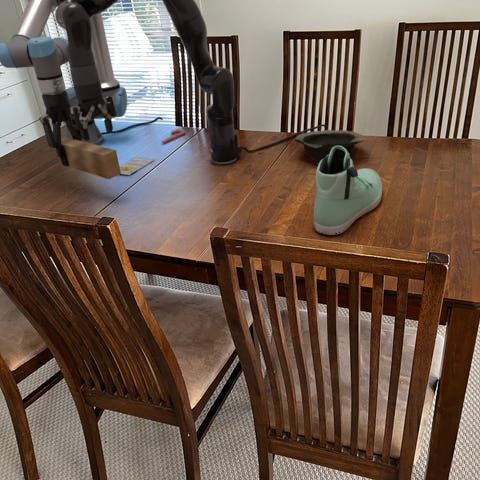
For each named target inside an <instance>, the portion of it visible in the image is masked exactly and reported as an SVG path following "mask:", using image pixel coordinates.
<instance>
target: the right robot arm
mask: <svg viewBox="0 0 480 480" xmlns="http://www.w3.org/2000/svg"><path fill="white" fill-rule="evenodd" d="M118 1H119V0H65V1H64V2H62V3H61V4H60V5H59V6H58V7H56V9H55V11H54V19H55V21H56V24H57V25H58V26H59V27H60V28H61V29H63V30H65V32H66V39H67V40H68V44H67V45H66V52H67V56H68V61H69V62H68V65H69V71H70V77H71V81H72V85H73V86H72V87H74V90H75V95H76V98H77V100H78V106H75V107H72V106H70V107H69V111H70V117H71V122H72V126H73V127H74V128H79V129H80V133H81V137H82V139H84V140H85V141H89V140H90V138H89V133H88V129H87V128H86V127H87V124H88V122H89V121H90V119H91V118H93V117H95V116H99V115H101V116H102V117H103V118H102V119H103V122H104V127H105V132H109V133H111V132H112V131H114V126H113V121H112V119H113V118H112V117H114V116H116V111H115V107H114V103H113V99H112V97H110V96H104V98H103V97H102V96H103V92H102V87H101V83H100V78H99V73H98V69H97V66H96V63H95V58H94V54H93V49H92V32H91V22H90V17H92V16H93V15H95V14H99V13H101V14H102V13H104V12H105V11H107V10H108V9H109V8H111V7H112V6H113V5H115V4H116V3H117V2H118ZM162 3H163V5H164V7H165V9H166V11H167V13H168V16H169V17H170V20H171V22H172V24H173V27H174V29H175V31H176V33H177V35H178V37H179V38H180V41H181V43H182V45H183V47H184V50H185V52H186V54H187V57H188V59H189V60H190V64H191V65H192V66H191V67H192V69H193V70H194V73H195V74H194V75H195V76H196V77H195V78H196V79H197V82H198V85H199V87H200V89H201V90H202V91H203V92H204V93H206V94H209V95H212V103H211V104H209V105H208V106H207V107H206V120H207V129H208V137H209V152H210V158H211V159H210V160H211V163H212V164H214V165H216V166H217V165H218V166H226V165H231V164H234V163H235V162H236V161H237V160H239V158H240V157H239V155H240V154H241V153H243V150H245V152H247V153H255V152H258V151H261V150H264V149H266V148H270V147H272V146H275V145H278V144H281V143H282V142H285V141H287V140H290V139H292V138H294V137H297V136H298V135H300V134H303V133H308V132H311V131H315V130H316V129H319V128H321V127H324V128H328V125H326V124H323V123H322V124H318V125H316V126H314V127H310V128H307V129H303V130H301V131H299V132H296V133H293V134H291V135H289V136H287V137H284V138H282V139H279V140H277V141H275V142H272V143H269V144H266V145H263V146H260V147H258V148H255V149H248V148H247V147H245V146H242V145H239V144H238V143H239V142H238V134H237V133H236V131H235V121H234V107H235V103H236V101H235V80H234V76H233V73H232V72H231V71H230V69H228V68H226V67H221V66H216V64H215V63H214V62H213V60H212V57H211V55H210V53H209V49H208V29H207V28H208V27H207V24H206V22H205V19H204V16H203V14H202V11H201V10H200V7H199V5H198V4H197V2H196V0H162ZM104 103H105V104H106V108H107V110H105V109H104V108H103V106H104ZM79 110H80V111H81V114H80V117H79V113H80V112H79ZM85 116H86V117H85Z"/></svg>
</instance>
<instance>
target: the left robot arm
mask: <svg viewBox="0 0 480 480" xmlns="http://www.w3.org/2000/svg"><path fill="white" fill-rule="evenodd" d="M64 1H65V0H28V2H27V3H26V6H25V8H24V10H23V13H22V14H21V17H20V19H19V21H18V23H17V26H16V27H15V29H14V32H13V34H12V36H11V38H10V39H9V42H7V41H6V42H1V43H0V64H1V66H3V67H4V68H7V69H21V68H32V67H33V69H34V72H35V75H36V80H37V84H38V87H39V92H40V93H42V94H41V98H42V103H43V106H44V107H45V114H44V115H43V116H39V117H38V120H39V122H40V123H41V125H42V128H43V132H44V135H45V139H46V142H47V146H48V147H50V148H52V149H55V152H56V156H57V158H58V157H60V158H61V162H62V166H64V167H68V166H69V163H68V159H67V156H66V152H65V148H64V147H62V146H61V139H62V129H61V128H62V123H64V124H65V126H66V133H65V138H66V137H67V138H71V139H75V140H78V141H82V142H86V143H90V144H94V145H98V146H100V145H102V143H104V136H105V135H112V134H118V133H122V132H124V131H127V130H130V129H132V128H135V127H140V126H145V125H150V124H154V123H156V122H157V121H158V120H160V121H164V118H163V117H161V116H157V117H156V118H154V119H153V120H150V121H144V122H139V123H134V124H131V125H129V126H126V127H124V128H122V129H118V130H112V132H111V133H109V132H107V131H104V132H103V131H102V132H101V130H100V129H99V127H98V125H97V124H96V121H95V120H96V119H104V118H103V117H102V116H101V115H99V116H95V117H93V118H91V119H90V121H89V122H88V124H87V127H86V128H87V129H88V133H89V138H90V140H89V141H85V140H84V139H82V137H81V133H80V129H79V128H74V127H73V126H72V122H71V117H70V111H69V107H70V106H72V107H75V106H78V100H77V98H76V95H75V90H74V86H70V87H67V88H66V84H65V78H64V75H63V71H62V67H61V66H63V65H66V64H67V63H68V64H69V61H68V56H67V52H66V45H67V44H68V39H67V38H64V37H59V36H58V37H51V36H42V35H43V32H44V30H45V28H46V26H47V23H48V20H49V18H50V15H51V14H52V13H53V12H56V9H57V7H58V6H59V5H60V4H61V3H62V2H64ZM90 22H91V32H92V49H93V54H94V58H95V63H96V66H97V69H98V73H99V78H100V83H101V87H102V92H103V96H102V97H103V98H104V96H110V97H112V99H113V103H114V107H115V111H116V116H114V117H112V119H116V118H122V117H124V116H125V115H126V112H127V109H128V94H127V89H126V88H125V87H123V86H121V84H120V81H119V80H118V79H116V78H115V74H114V73H115V72H114V70H113V64H112V60H111V59H112V58H111V55H110V49H109V45H108V40H107V34H106V30H105V25H104V21H103V16H102V13H99V14H95V15H93V16H92V17H90ZM103 108H104V109H105V110H107V108H106V104H105V103H104V106H103ZM79 112H80V113H79V117H80V114H81V111H80V110H79ZM85 117H86V116H85ZM50 122H51V123H50ZM68 168H69V167H68Z"/></svg>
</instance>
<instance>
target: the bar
mask: <svg viewBox="0 0 480 480" xmlns="http://www.w3.org/2000/svg"><path fill="white" fill-rule="evenodd" d="M61 146H62V147H64V148H65V152H66V156H67V159H68V163H69V166H68V168H71V169H75V170H78V171H81V172H84V173H88V174H90V175H94V176H97V177H100V178H104V179H107V180H111V179H113V178H115V177H117V176H119V175H122V174H121V171H120V166H121V165H120V163H119V158H118V153H117V150H116V149H113V148H109V147H105V146H102V145H94V144H90V143H86V142H82V141H78V140H75V139H71V138H67V137H66V136H65V137H64V138H61ZM57 158H58V162H59V165H60V166H61V165H62V162H61V158H60V157H58V156H57ZM62 166H63V165H62Z"/></svg>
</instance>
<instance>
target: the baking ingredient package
mask: <svg viewBox="0 0 480 480" xmlns="http://www.w3.org/2000/svg"><path fill="white" fill-rule="evenodd" d="M153 161H154V159H148V158H147V159H146V158H141V157H134V158H132V159H130V160H128V161H126V162H125V163H123V164H121V165H119V166H120V171H121V174H120V175H127V176H130V175H132V174H133V173H135V172H137V171H138V170H140V169H142V168H143V167H145V166H146V165H148V164H150V163H151V162H153Z"/></svg>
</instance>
